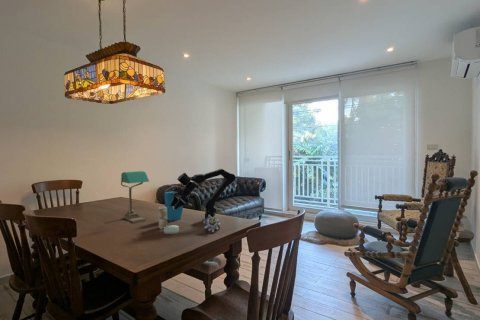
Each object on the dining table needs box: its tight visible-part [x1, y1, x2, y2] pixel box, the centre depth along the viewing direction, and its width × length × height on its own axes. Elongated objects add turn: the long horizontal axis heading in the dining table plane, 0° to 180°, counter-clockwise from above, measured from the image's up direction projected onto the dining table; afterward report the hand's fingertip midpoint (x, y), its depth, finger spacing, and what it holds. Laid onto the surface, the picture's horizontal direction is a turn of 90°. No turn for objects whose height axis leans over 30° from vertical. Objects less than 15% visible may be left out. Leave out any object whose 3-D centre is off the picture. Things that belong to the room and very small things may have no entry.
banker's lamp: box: [120, 170, 150, 224], centre depth 196 cm, size 16×21×35 cm
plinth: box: [163, 224, 180, 235], centre depth 166 cm, size 9×9×3 cm
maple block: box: [157, 206, 168, 230], centre depth 176 cm, size 5×5×13 cm
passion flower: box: [201, 215, 222, 233], centre depth 168 cm, size 11×11×12 cm
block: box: [164, 191, 184, 222], centre depth 195 cm, size 12×5×20 cm, turn 124°
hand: (172, 207), depth 178 cm, fingers open, 9 cm apart
